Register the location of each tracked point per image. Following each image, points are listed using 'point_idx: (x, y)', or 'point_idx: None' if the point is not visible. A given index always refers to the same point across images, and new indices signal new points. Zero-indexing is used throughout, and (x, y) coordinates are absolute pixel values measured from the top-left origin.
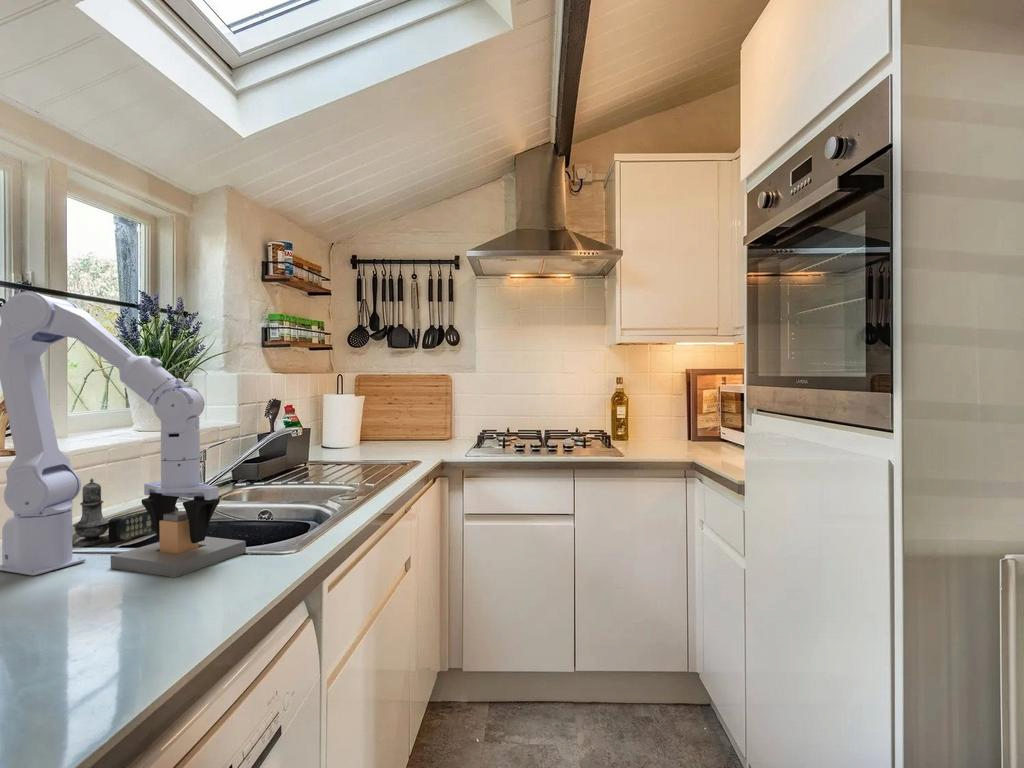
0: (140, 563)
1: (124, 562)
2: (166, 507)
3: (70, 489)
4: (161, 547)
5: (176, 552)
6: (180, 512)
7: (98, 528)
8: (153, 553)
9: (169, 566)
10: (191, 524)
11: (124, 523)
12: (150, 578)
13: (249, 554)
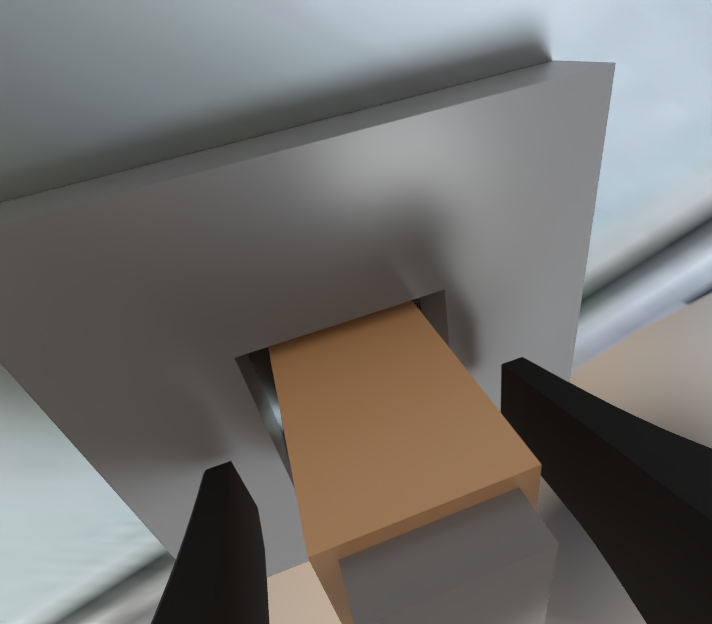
0: (308, 136)
1: (462, 94)
2: (673, 593)
3: None
4: (412, 327)
5: (279, 358)
6: None
7: None
8: (394, 266)
9: None
10: (177, 615)
11: None
12: (87, 99)
13: (166, 550)
